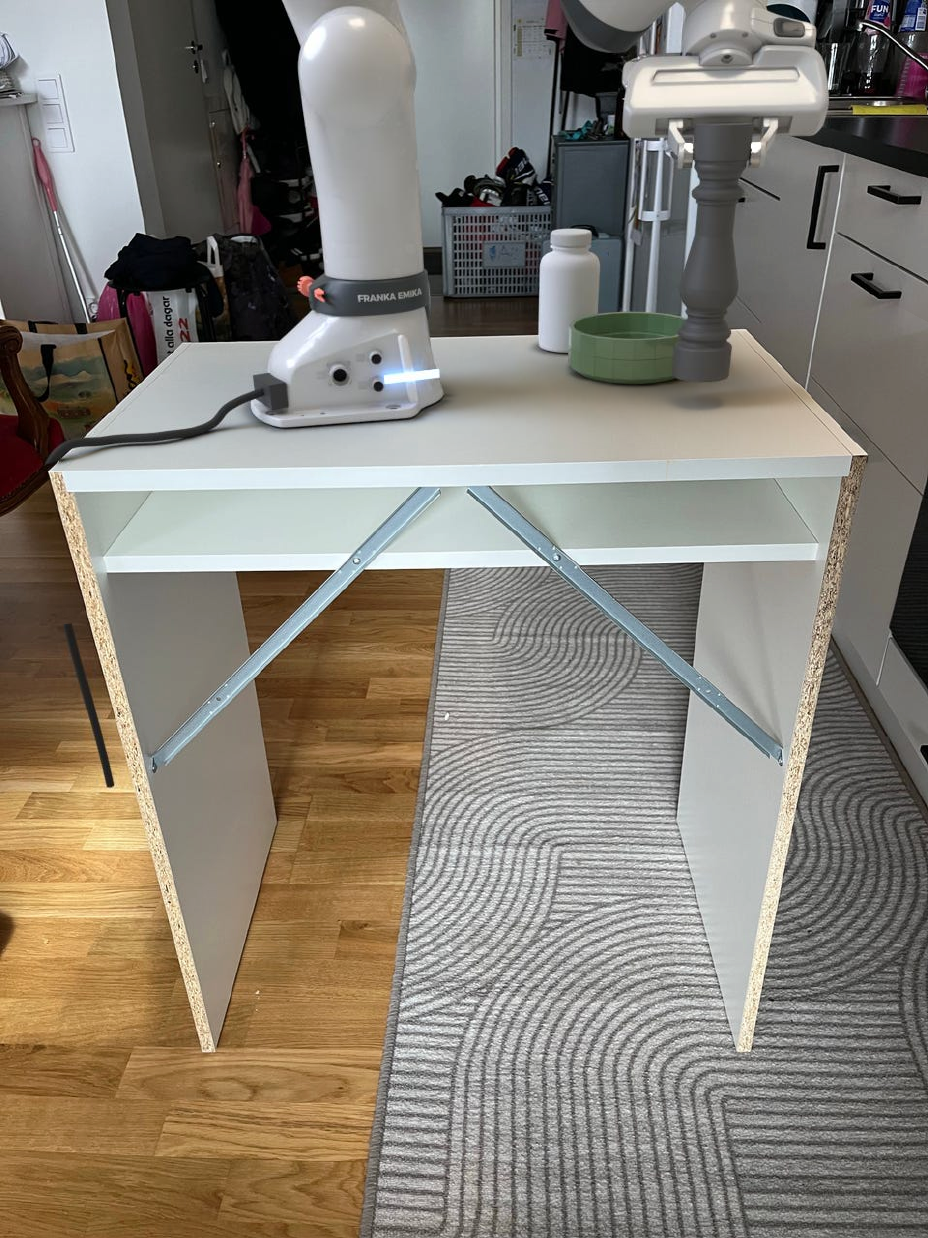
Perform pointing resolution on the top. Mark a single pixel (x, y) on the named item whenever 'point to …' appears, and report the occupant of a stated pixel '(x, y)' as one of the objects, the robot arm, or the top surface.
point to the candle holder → (712, 252)
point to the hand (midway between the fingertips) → (721, 163)
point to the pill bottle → (566, 286)
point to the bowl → (624, 346)
